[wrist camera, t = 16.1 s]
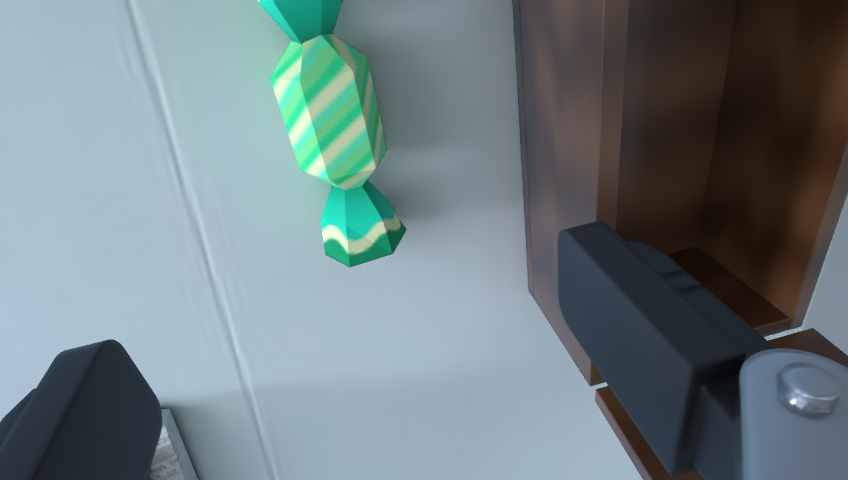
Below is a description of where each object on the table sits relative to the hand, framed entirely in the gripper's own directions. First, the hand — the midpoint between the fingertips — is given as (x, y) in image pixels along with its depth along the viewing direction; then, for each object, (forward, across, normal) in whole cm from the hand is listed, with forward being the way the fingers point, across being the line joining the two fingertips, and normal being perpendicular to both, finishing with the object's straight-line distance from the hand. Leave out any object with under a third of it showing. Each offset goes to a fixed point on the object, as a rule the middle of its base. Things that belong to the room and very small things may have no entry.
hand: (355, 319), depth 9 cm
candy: (+14, 0, 0) cm, 14 cm away
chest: (+14, -14, +4) cm, 20 cm away
